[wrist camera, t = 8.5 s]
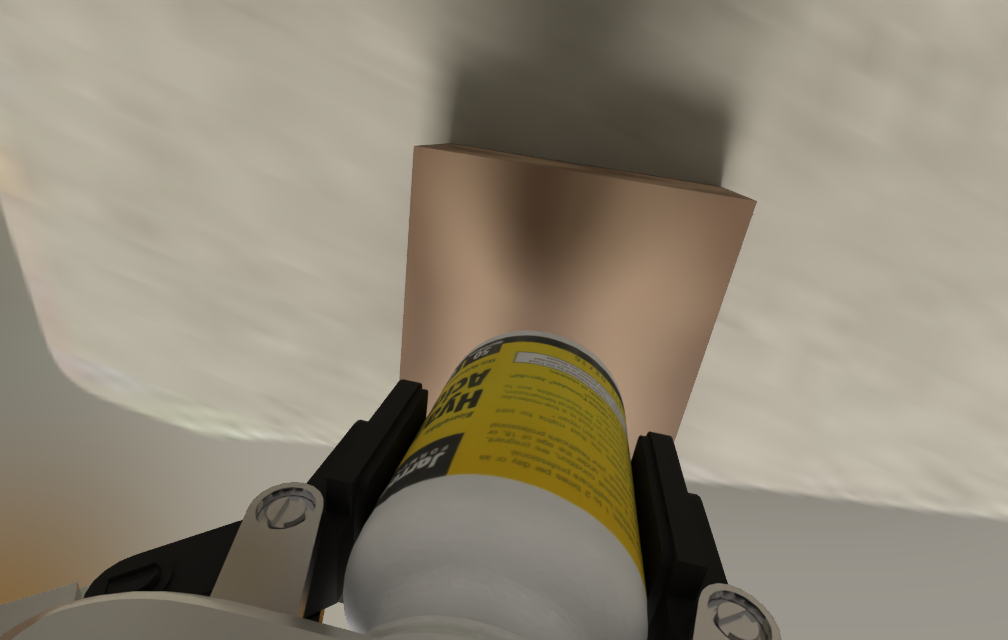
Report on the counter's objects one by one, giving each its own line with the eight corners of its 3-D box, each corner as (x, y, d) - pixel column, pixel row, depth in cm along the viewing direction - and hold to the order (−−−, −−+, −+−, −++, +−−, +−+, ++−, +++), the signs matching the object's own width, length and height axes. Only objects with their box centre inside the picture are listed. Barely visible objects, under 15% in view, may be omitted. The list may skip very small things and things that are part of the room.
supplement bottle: (491, 292, 13) (298, 614, 4) (659, 379, 14) (803, 865, 5) (422, 428, 16) (197, 834, 7) (567, 502, 16) (541, 997, 7)
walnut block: (721, 186, 22) (757, 201, 17) (648, 420, 27) (660, 480, 22) (448, 143, 23) (414, 145, 18) (428, 374, 28) (397, 421, 23)
